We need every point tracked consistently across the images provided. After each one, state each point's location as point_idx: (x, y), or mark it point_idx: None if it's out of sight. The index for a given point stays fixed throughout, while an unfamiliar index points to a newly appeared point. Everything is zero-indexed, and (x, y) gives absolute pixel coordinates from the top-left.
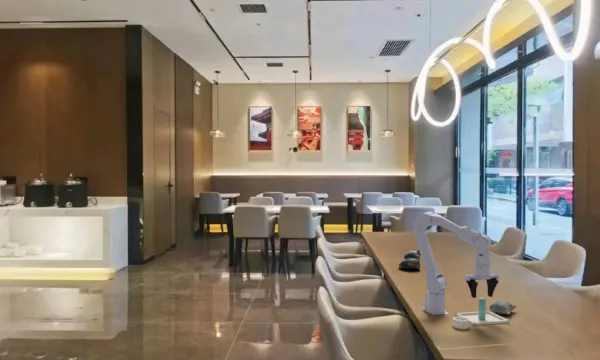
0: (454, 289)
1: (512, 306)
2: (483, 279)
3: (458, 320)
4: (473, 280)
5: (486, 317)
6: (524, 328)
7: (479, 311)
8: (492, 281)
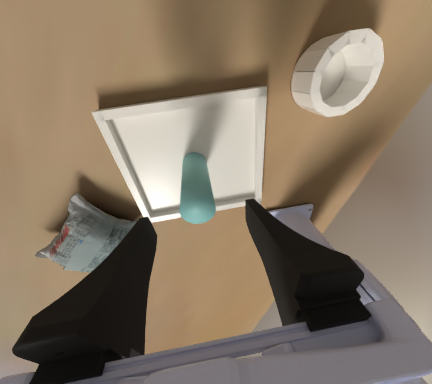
0: (167, 331)
1: (51, 245)
2: (198, 344)
3: (377, 48)
4: (324, 311)
5: (171, 178)
6: (24, 28)
7: (208, 173)
8: (101, 328)
